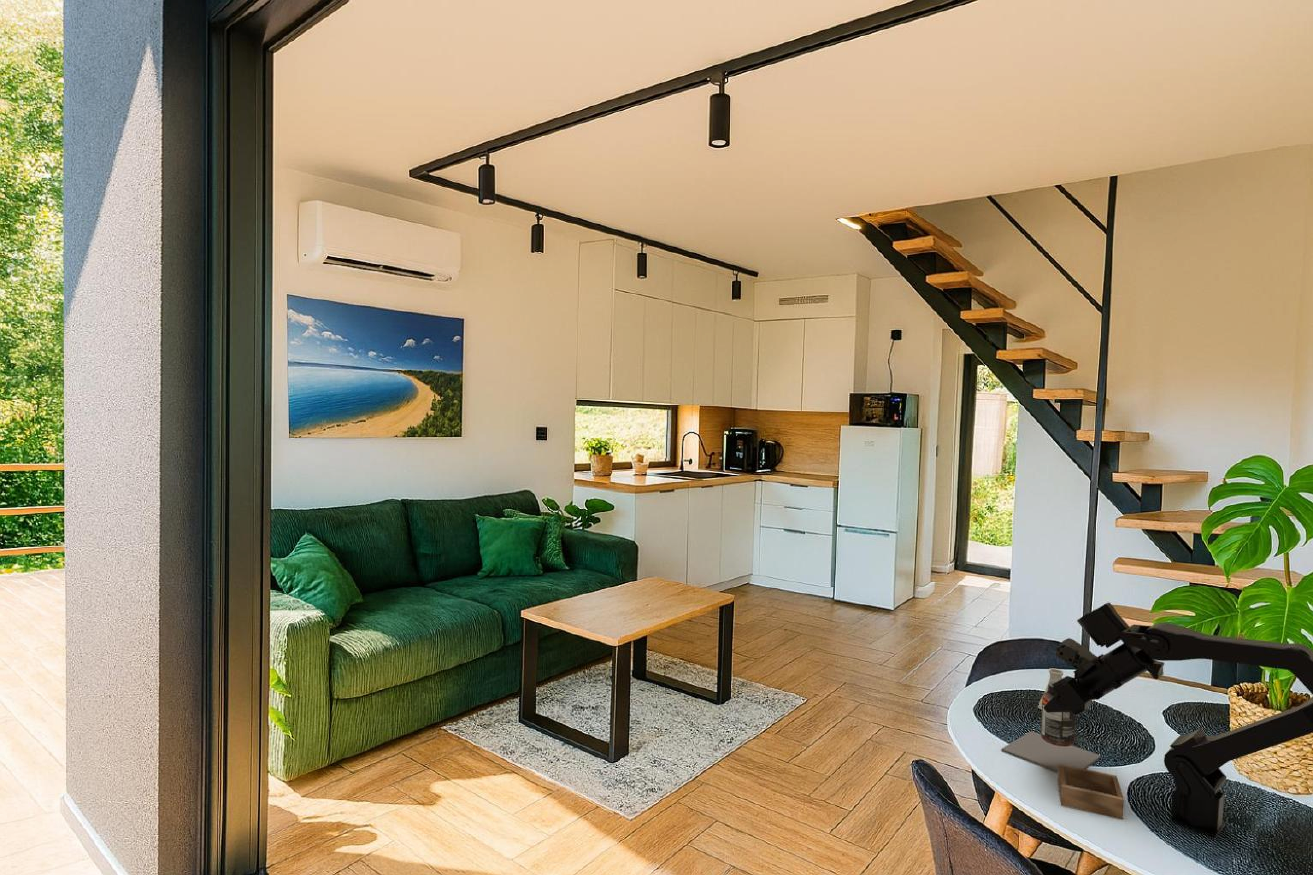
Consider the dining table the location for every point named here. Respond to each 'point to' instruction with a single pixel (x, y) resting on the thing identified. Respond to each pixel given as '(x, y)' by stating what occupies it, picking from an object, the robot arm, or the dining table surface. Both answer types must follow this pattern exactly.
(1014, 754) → the grey-brown square block
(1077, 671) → the robot arm
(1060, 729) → the supplement bottle
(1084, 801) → the walnut box
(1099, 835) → the dining table surface
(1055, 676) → the flask
